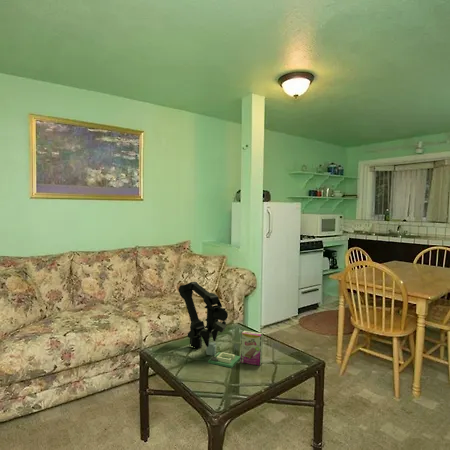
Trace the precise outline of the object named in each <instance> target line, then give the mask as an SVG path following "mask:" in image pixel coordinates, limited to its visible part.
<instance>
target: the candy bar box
mask: <svg viewBox="0 0 450 450" xmlns="http://www.w3.org/2000/svg"><path fill="white" fill-rule="evenodd" d="M263 336H264V333H263V332H257V331H250V330H242V332H241V335H240V356H241V359H240V363H242V364H245V365H246V364H248V365H253V366H257V367H258V366H259V367H260V366H261V365H262V363H263V347H264V346H263V343H264V342H263V341H264V340H263V339H264V337H263Z"/></svg>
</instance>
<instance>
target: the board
mask: <svg viewBox="0 0 450 450" xmlns="http://www.w3.org/2000/svg"><path fill="white" fill-rule="evenodd" d="M240 361H241V355H237V354H233V353H227V352H219V351H218V352H216V354H215V355H213V356H212V357H210V358H209V359H208V361H207V363H208V364H210V365H211V364H212V365H216V366H221V367H224V368H225V367H226V368H231V369H233V368H234V367H235V366H236V364H238V362H240Z"/></svg>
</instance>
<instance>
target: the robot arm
mask: <svg viewBox="0 0 450 450" xmlns="http://www.w3.org/2000/svg"><path fill="white" fill-rule="evenodd" d="M193 293H195V294H197V295H198V296H199V297H201V298H202V299H203V302H204V304H205V305H204V309H206V318H205V322H206V324H205V323H204V320H200V318H199V315H198V313H197V309H196V306H195V303H194V299H193V295H194V294H193ZM178 294H179V296H180V297H181V298H182V299H183V300H184V303H185V306H186V310H187V313H188V315H189V320H190V326H189V331H188V333H187V337H188V338H189V345H190V344H191V346H193V347H195V348H196V349H195V350H199V349H201V348H202V347H203V342H204V344H205V347H206V346H207V347H208V346H209V342H210V339H211V337H212V342H216V340H217V338H218V335H219V333H220V334H221V333H224V331H225V330H226V328H227V322H226V321H227V319H228V316H229V314H228V312H227V311H226V308H224V307H223V305H222V303H221V301H220V298H219V296H218V295H217V294H216V293H213V292H209V291H208V290H207V289H205V288H204V287H203V286H201V285H200V284H199V282H197V281H190V282H189V283H185V284H181V285H179V287H178ZM201 346H202V347H201ZM198 348H199V349H198Z"/></svg>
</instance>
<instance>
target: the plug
mask: <svg viewBox="0 0 450 450" xmlns="http://www.w3.org/2000/svg"><path fill="white" fill-rule="evenodd" d="M205 347H206V350H205V351H206V355H207V356H212V357H213V356H214V355H215V354H217V345H216V342H215V341H209V346H208V347H207V346H206V345H205Z"/></svg>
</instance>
